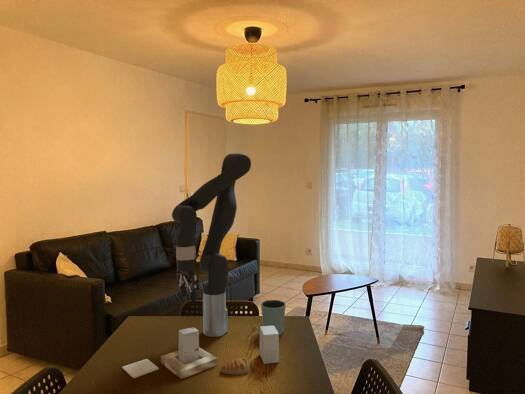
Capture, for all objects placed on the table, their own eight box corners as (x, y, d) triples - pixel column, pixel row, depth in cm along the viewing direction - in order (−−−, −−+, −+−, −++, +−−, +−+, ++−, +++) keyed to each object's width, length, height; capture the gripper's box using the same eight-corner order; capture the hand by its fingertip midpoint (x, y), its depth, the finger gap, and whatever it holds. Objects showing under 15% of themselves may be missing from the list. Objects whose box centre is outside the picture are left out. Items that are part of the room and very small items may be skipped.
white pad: (146, 359, 144) (146, 358, 144) (158, 369, 138) (158, 368, 138) (122, 367, 138) (122, 366, 138) (133, 378, 132) (133, 377, 132)
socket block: (195, 351, 151) (195, 344, 151) (217, 365, 141) (217, 358, 141) (160, 363, 142) (160, 356, 142) (181, 379, 132) (181, 371, 131)
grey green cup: (289, 330, 171) (289, 302, 170) (277, 339, 162) (277, 309, 161) (269, 325, 176) (269, 298, 175) (256, 333, 168) (256, 304, 167)
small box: (279, 363, 143) (279, 333, 142) (263, 364, 142) (263, 335, 141) (274, 352, 151) (274, 324, 150) (259, 353, 150) (259, 326, 149)
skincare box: (182, 369, 138) (182, 334, 137) (177, 363, 141) (177, 330, 141) (199, 364, 141) (199, 330, 140) (194, 359, 145) (194, 326, 144)
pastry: (223, 378, 133) (223, 366, 133) (218, 368, 139) (218, 357, 139) (250, 373, 136) (250, 362, 136) (245, 364, 142) (245, 353, 142)
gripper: (204, 258, 153) (206, 300, 154) (186, 253, 164) (188, 292, 165) (185, 261, 148) (188, 305, 149) (169, 256, 160) (171, 296, 161)
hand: (188, 298), depth 157 cm, fingers open, 8 cm apart
